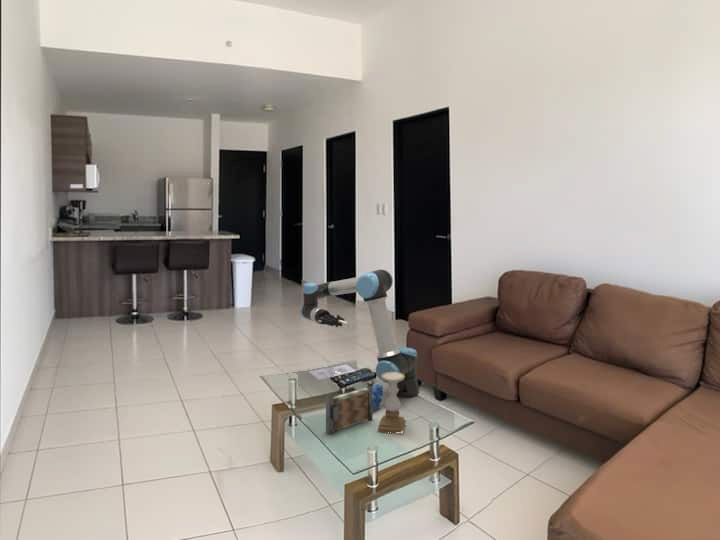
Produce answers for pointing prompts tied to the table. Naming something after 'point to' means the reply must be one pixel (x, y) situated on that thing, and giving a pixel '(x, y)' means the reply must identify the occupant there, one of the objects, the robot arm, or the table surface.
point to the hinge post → (370, 400)
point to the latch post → (331, 413)
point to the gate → (351, 408)
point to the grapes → (377, 396)
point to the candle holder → (392, 405)
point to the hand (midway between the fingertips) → (347, 325)
